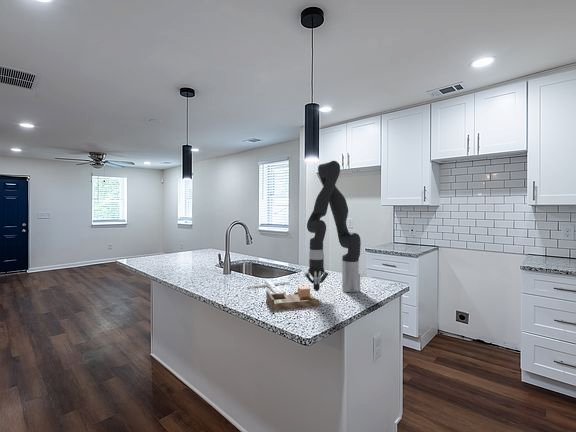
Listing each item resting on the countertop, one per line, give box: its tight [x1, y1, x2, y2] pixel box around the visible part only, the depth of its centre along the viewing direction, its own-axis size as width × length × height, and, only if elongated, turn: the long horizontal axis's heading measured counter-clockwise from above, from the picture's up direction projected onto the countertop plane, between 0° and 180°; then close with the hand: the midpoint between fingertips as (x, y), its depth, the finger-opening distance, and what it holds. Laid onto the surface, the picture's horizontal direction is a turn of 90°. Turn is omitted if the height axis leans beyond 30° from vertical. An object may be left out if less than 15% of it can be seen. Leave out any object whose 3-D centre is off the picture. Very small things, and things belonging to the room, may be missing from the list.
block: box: [297, 286, 311, 297], centre depth 158 cm, size 5×5×4 cm
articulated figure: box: [247, 279, 291, 295], centre depth 177 cm, size 27×4×30 cm
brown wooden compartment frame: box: [265, 290, 320, 311], centre depth 153 cm, size 23×16×5 cm
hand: (316, 290), depth 159 cm, fingers closed
